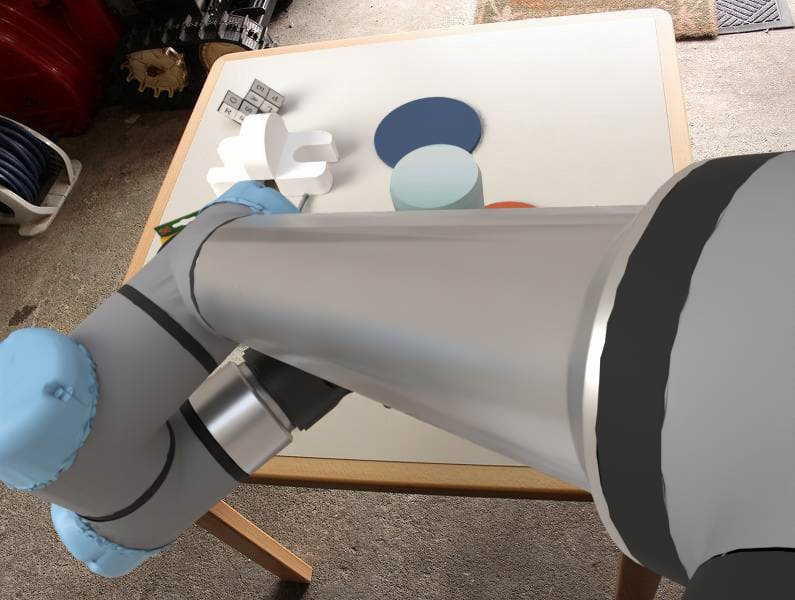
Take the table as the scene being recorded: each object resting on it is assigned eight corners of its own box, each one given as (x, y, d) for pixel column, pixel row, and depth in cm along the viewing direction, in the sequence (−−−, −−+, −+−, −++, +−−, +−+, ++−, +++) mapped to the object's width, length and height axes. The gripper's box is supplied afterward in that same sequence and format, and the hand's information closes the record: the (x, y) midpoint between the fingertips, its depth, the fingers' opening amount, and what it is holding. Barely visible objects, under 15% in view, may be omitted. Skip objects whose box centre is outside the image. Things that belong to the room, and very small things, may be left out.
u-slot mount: (340, 147, 93) (322, 94, 85) (330, 194, 88) (309, 142, 80) (231, 154, 96) (204, 104, 88) (215, 200, 91) (184, 150, 83)
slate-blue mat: (502, 140, 87) (502, 136, 87) (405, 190, 85) (405, 187, 85) (446, 86, 96) (445, 82, 96) (357, 130, 94) (356, 127, 94)
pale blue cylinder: (495, 356, 56) (478, 208, 40) (425, 355, 57) (381, 211, 41) (497, 297, 59) (483, 139, 43) (431, 297, 61) (393, 145, 45)
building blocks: (271, 116, 103) (228, 89, 100) (284, 97, 99) (239, 68, 96) (261, 137, 101) (216, 110, 97) (275, 119, 97) (228, 90, 93)
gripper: (227, 341, 53) (425, 194, 59) (356, 509, 43) (582, 312, 49) (188, 293, 47) (413, 134, 53) (327, 475, 37) (589, 253, 42)
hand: (493, 219), depth 51 cm, fingers closed on pale blue cylinder, 6 cm apart
